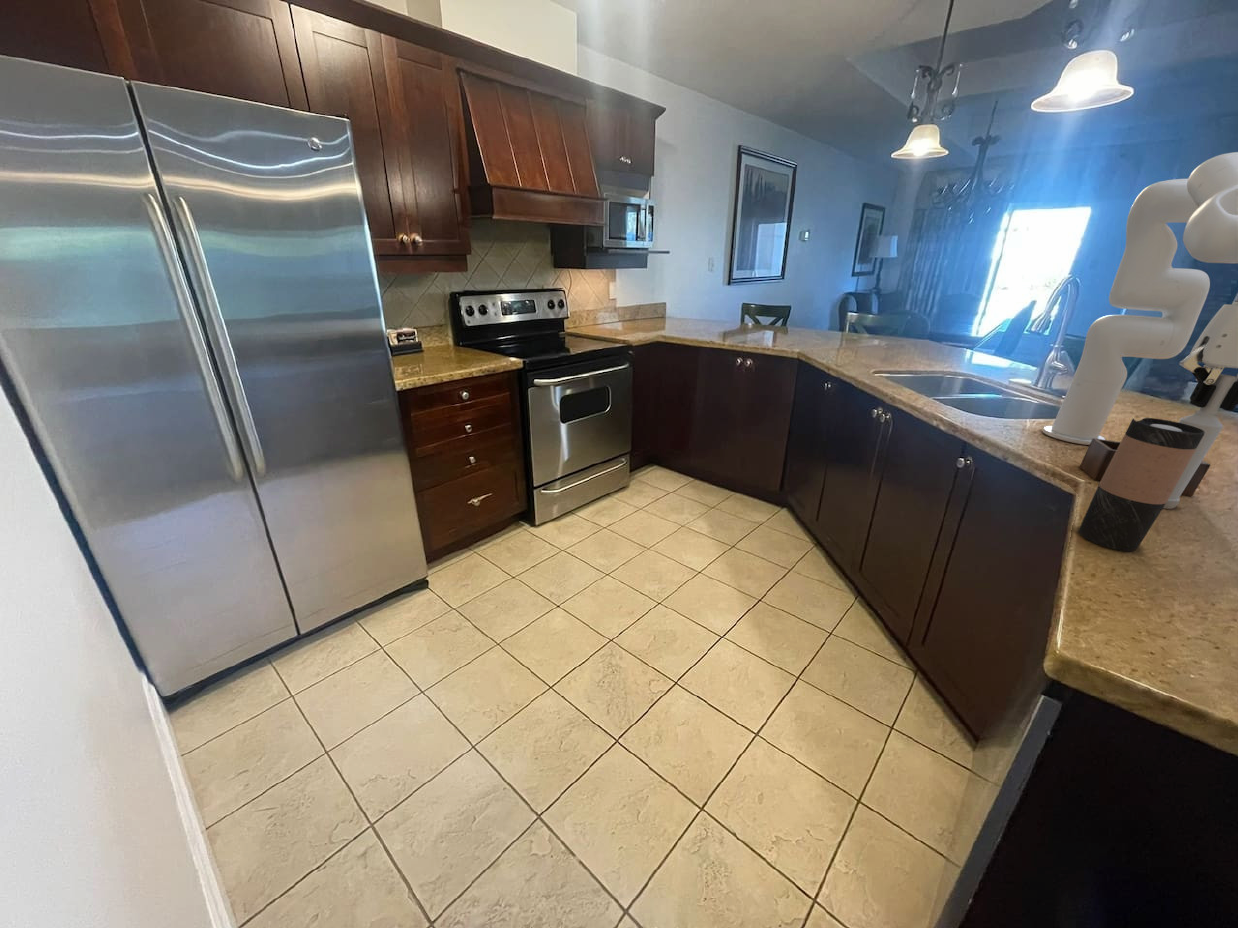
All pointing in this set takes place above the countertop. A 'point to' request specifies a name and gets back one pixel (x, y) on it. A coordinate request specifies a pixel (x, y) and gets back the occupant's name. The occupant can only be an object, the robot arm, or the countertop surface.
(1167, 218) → the robot arm
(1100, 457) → the dark brown box
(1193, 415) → the bottle
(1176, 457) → the travel mug
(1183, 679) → the countertop surface
